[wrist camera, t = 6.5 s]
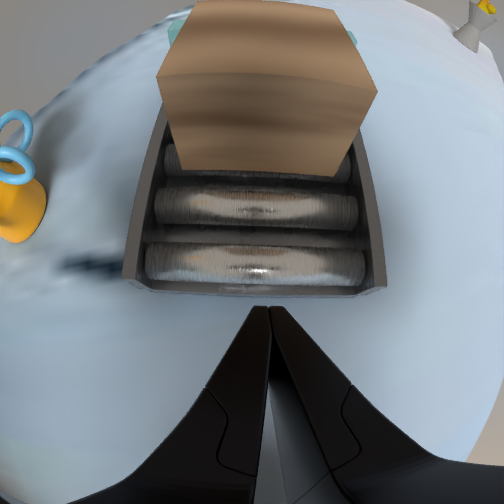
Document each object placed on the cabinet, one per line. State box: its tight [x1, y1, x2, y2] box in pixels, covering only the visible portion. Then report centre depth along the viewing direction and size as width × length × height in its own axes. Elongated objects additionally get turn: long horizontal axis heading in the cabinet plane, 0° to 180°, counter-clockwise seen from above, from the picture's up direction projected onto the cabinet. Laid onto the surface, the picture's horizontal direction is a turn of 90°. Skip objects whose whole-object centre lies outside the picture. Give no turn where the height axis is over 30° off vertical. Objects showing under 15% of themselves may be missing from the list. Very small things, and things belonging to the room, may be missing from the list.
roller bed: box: [121, 103, 387, 298], centre depth 18 cm, size 17×14×4 cm
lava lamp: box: [453, 0, 496, 53], centre depth 22 cm, size 9×9×35 cm
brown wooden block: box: [156, 0, 378, 177], centre depth 14 cm, size 10×9×7 cm
